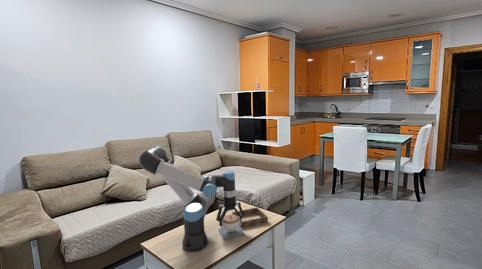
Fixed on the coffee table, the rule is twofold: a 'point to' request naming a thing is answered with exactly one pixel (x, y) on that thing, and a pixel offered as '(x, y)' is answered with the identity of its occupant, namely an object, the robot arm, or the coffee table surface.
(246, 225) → the walnut holder
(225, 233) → the grey mat
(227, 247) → the coffee table surface
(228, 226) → the lidded jar
